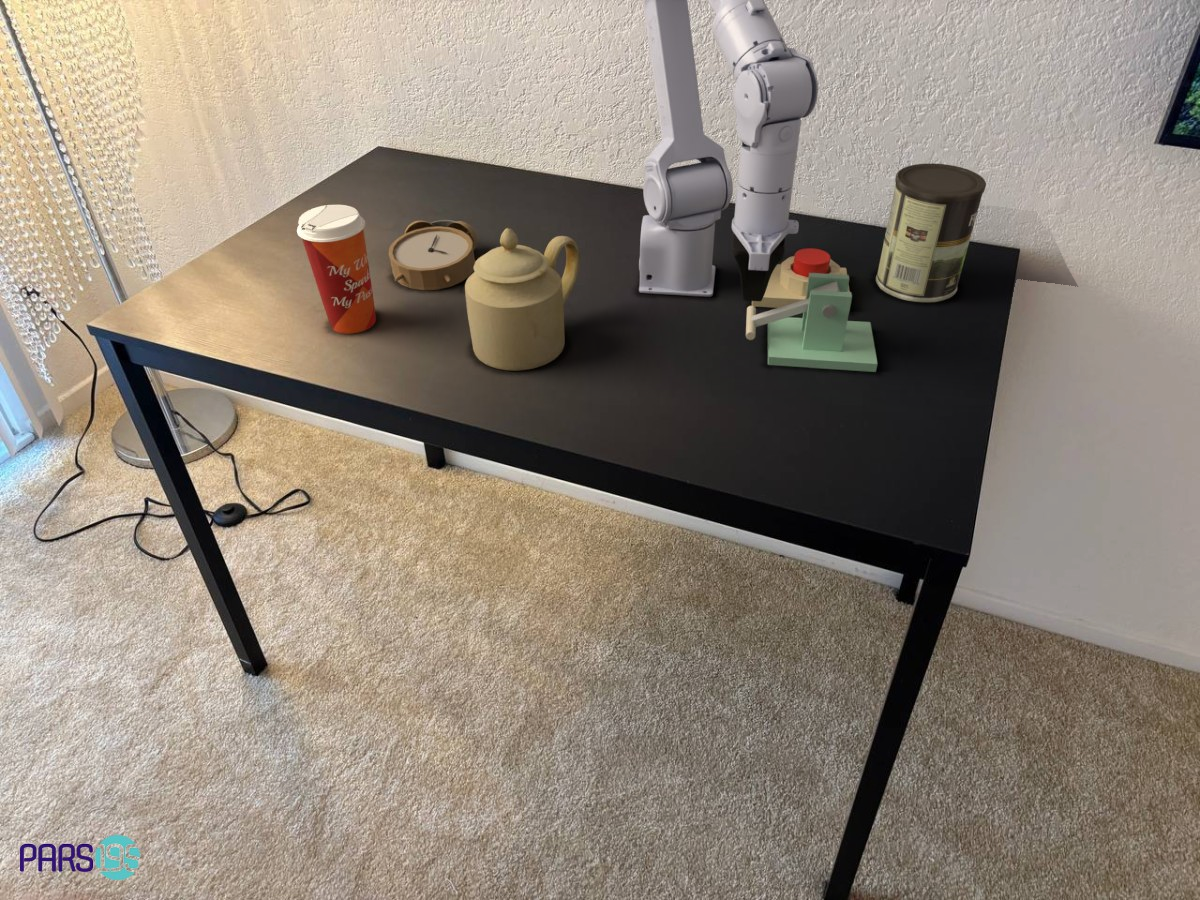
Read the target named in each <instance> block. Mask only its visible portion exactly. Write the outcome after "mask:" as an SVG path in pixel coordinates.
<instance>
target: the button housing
mask: <svg viewBox="0 0 1200 900" xmlns="http://www.w3.org/2000/svg"><path fill="white" fill-rule="evenodd" d="M794 257H795V255H793V256H789V257H788V258H786V259H785V260H783V261H782V262H781V263H778V264H777V266H776V267H775V269H774V270H773V272H772V275H771V277H770V280H769V283H768V286H767V289H766V292H765V294H764V297H763V299H762V301H751V306H754V307H755V308H756V307H757V308H772V309H776V308H779V307H782V306H786V305H789V304H792V303H795V302H798V301H802V300H805V298H806V291H807V285H808V278H809V277H804V276H801V275H798V274H796V273H794V272H793V264H794ZM828 274H840V275H848V271H847V267H841V266H840V265H839V264H838V263H837V262H835V261H834V260H833V259H832V258H830V264H829V270H828ZM849 284H850V283H849ZM849 284H848V289H847V292H851V291H850V285H849ZM851 305H852V304H851ZM851 305H850V307H851ZM850 311H851V309H850V310H849V312H850Z"/></svg>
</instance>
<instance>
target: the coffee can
mask: <svg viewBox="0 0 1200 900" xmlns="http://www.w3.org/2000/svg"><path fill="white" fill-rule="evenodd" d="M894 182H895V185H894V189H893V195H892V199H891V205H890V209H889V215H888V219H887V224H886V228H885V229H886V230H885V235H884V238H883V245H882V250H881V254H880V259H879V264H878V269H877V274H876V276H875V282H876V284H877V286H878V287H879V289H880V290H881V291H883V292H884V293H886V294H887V295H889V296H891V297H895V298H897V299H900V300H903V301H906V302H907V301H908V302H913V303H922V304H923V303H938V302H943V301H946V300H948V299H951V298H952V297H953V296H954V295H956V293H957V291H958V285H959V282H960V278H961V274H962V271H963V267H964V262H965V259H966V255H967V252H968V248H969V245H970V240H971V237H972V233H973V230H974V227H975V226H974V225H975V223H976V219H977V217H978V216H977V215H978V212H979V208H980V205H981V201H982V197H983V194H984V192H985V190H986V187H987V183H986V180H985V178H984V177H982V176H981V175H980V174H979V173H978V172H974V171H973V170H970V169H968V168H964V167H961V166H957V165H952V164H945V163H931V162H928V163H917V164H912V165H908V166H904V167H902V168H901V169H899V170H898V171H897V172H896V174H895V179H894Z"/></svg>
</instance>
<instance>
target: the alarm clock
mask: <svg viewBox="0 0 1200 900" xmlns="http://www.w3.org/2000/svg"><path fill="white" fill-rule="evenodd" d="M477 244H478V236H477V233H476V231H475V229H474V228H473V226H471V224H469V223H467V222H465V221H463V220H462V221H461V220H451V219H439V220H435V221H431V222H429V221H428V220H424V219H419V220H415V221H412V222H411V223H410V224H408V226H407V227H406V228H405V231H404V234H402V235H401V236H399V237H397V238H396V239H394V241H393V242H392V243H391V244H390V245H389V248H388V257H389V261H390V265H391V270H392V275H393V278H394V279H393V280H394V281H395V282H397V283H399V284H400V285H402V286H403V287H406V288H409V289H411V290H420V291H436V290H443V289H446V288H451V287H453V286H455V285H458V284H460V283H462V282H464V281H465V280H467V279H468V278H469V277H470V276H471V275H472V274H473V273H474V268H473V267H474V265H475V262H476V258H475V254H474V253H475V252H474V251H475V249H476V248H477Z"/></svg>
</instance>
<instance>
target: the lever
mask: <svg viewBox="0 0 1200 900" xmlns="http://www.w3.org/2000/svg"><path fill="white" fill-rule="evenodd" d="M812 290H819V291H837V292H840V290H839V287H838V284H837V282H833V283H830V284H827V285H823V286H820V287H817V288H814V289H812ZM808 303H809V298H808V299H805V300H802V301H798V302H795V303H792V304H789V305H786V306H782V307H779V308H772V309H770V310H767V311H763V312H760V313H757V308H756V306H752V305H749V306H747V308H746V320H745V339H747V340H749V341H753V340H754V339H756V331H757V330H756V329H757V328H758V327H760V326H761V327H762V326H764V325H768V323H771V322H774V321H777V320H781V319H784V318H787V317H793V316H798V315H800V314H803V312H807V310H808Z"/></svg>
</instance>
